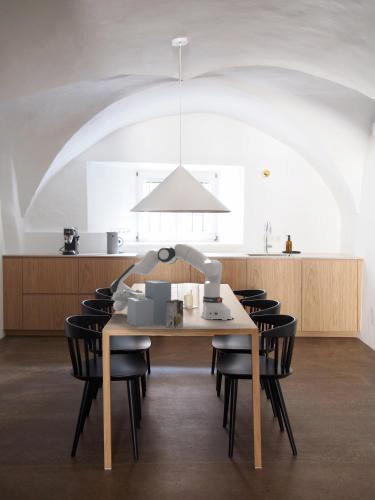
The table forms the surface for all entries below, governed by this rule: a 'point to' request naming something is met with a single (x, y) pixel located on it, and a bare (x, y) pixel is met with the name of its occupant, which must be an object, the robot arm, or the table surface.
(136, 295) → the long bar
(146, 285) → the stepped stand
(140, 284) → the table surface
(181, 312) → the coffee box
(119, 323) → the table surface
